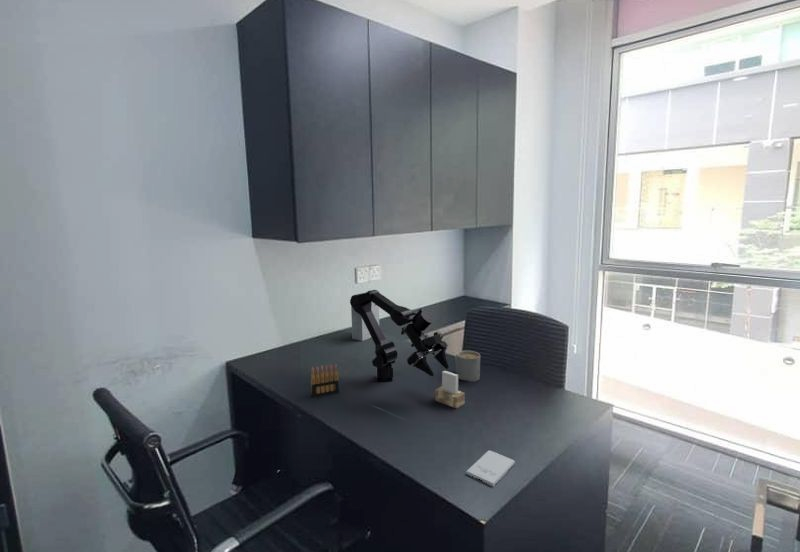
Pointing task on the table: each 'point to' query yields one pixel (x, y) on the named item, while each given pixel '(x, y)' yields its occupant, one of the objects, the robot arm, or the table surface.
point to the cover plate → (450, 382)
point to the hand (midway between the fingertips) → (440, 372)
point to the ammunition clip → (324, 381)
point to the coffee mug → (468, 365)
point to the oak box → (450, 398)
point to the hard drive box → (362, 324)
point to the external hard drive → (490, 467)
